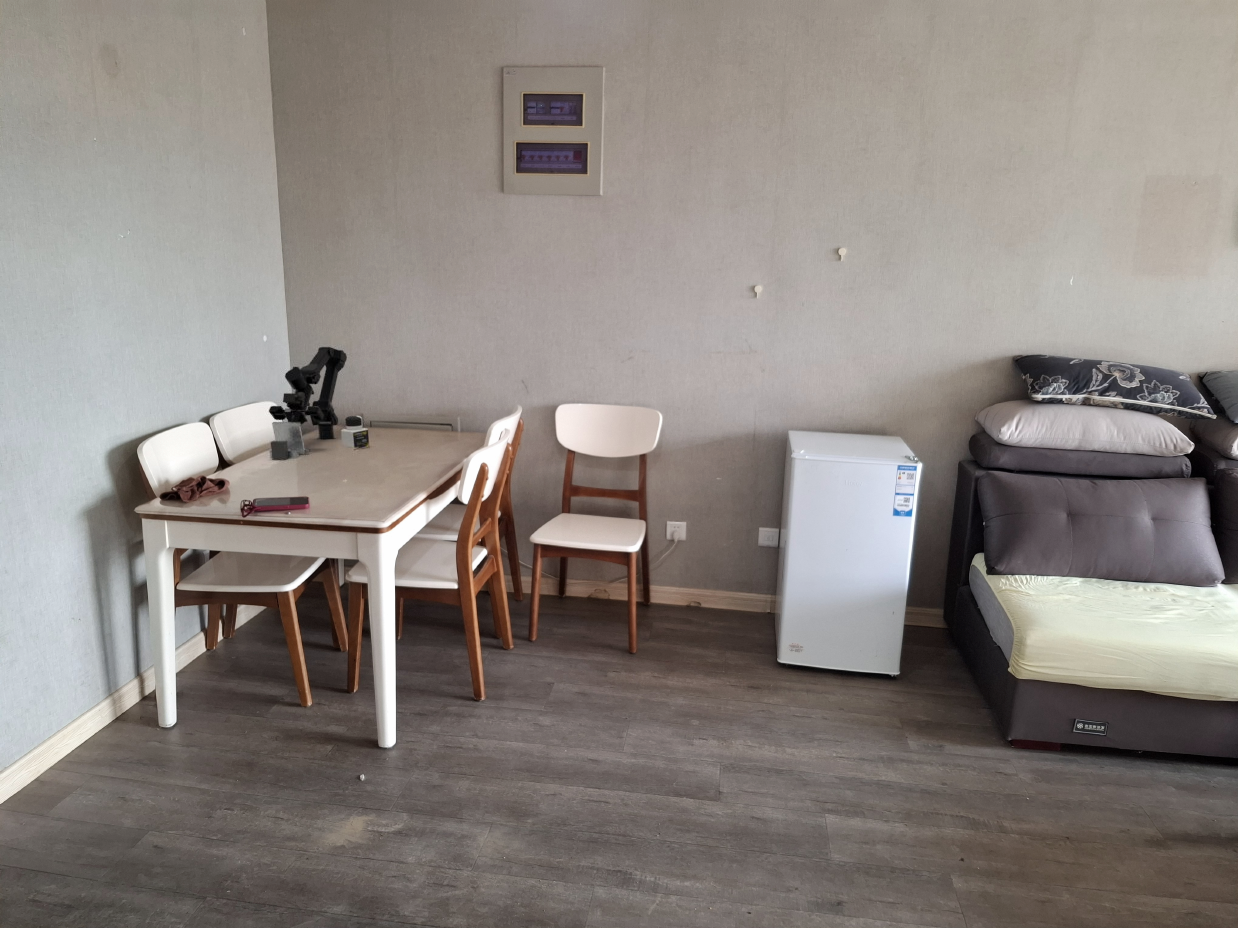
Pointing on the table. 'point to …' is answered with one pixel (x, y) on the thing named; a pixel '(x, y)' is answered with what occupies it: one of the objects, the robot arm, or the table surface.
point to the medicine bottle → (355, 433)
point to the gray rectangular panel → (289, 435)
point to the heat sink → (283, 451)
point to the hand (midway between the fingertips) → (290, 432)
